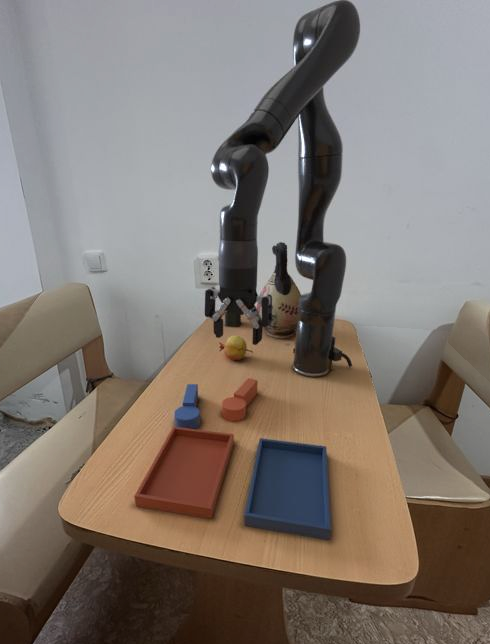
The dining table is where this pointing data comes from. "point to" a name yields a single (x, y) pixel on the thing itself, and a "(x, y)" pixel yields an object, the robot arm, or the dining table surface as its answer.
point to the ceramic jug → (281, 297)
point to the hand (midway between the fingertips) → (237, 340)
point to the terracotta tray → (187, 473)
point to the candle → (232, 319)
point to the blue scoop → (188, 409)
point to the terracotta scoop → (239, 401)
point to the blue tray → (290, 489)
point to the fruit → (234, 348)
